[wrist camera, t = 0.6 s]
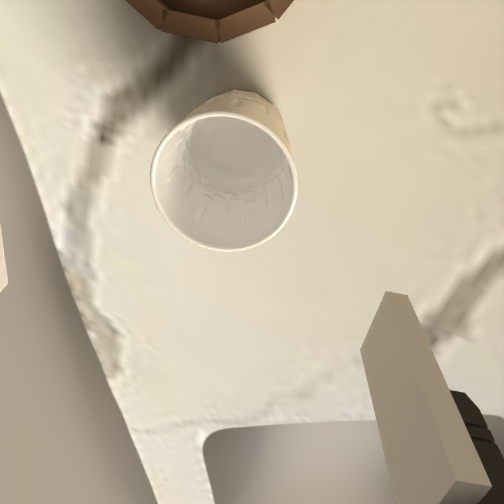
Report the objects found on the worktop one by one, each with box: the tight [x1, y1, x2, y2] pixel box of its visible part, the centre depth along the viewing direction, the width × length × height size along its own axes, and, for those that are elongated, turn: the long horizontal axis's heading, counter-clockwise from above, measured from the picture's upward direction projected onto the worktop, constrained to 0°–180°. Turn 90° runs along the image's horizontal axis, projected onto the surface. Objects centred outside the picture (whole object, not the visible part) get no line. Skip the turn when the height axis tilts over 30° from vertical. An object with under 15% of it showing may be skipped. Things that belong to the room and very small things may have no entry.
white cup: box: [150, 89, 298, 251], centre depth 26 cm, size 8×8×10 cm
